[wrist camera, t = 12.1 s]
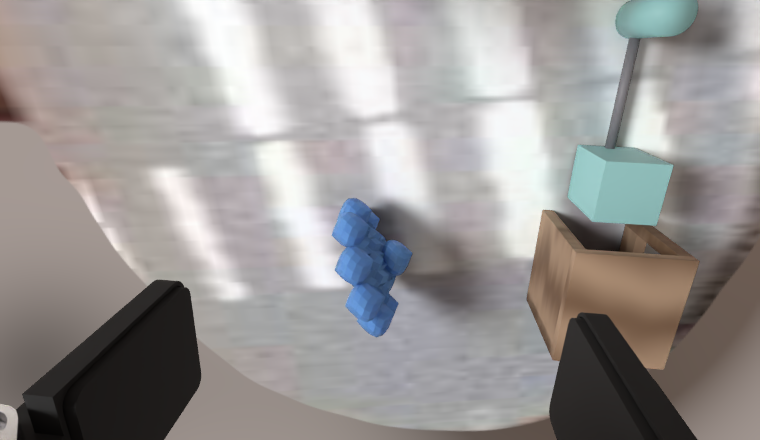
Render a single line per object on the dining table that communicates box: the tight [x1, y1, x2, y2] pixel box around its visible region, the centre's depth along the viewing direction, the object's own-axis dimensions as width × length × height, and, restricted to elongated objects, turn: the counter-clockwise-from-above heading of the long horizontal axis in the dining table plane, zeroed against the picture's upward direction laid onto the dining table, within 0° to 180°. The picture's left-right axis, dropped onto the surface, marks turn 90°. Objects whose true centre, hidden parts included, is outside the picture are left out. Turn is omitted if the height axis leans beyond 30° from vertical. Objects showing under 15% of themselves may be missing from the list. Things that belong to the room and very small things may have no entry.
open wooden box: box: [527, 210, 700, 369], centre depth 39 cm, size 10×9×10 cm
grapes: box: [332, 198, 412, 337], centre depth 39 cm, size 12×7×12 cm, turn 18°
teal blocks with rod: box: [568, 0, 698, 226], centre depth 35 cm, size 17×5×6 cm, turn 178°
